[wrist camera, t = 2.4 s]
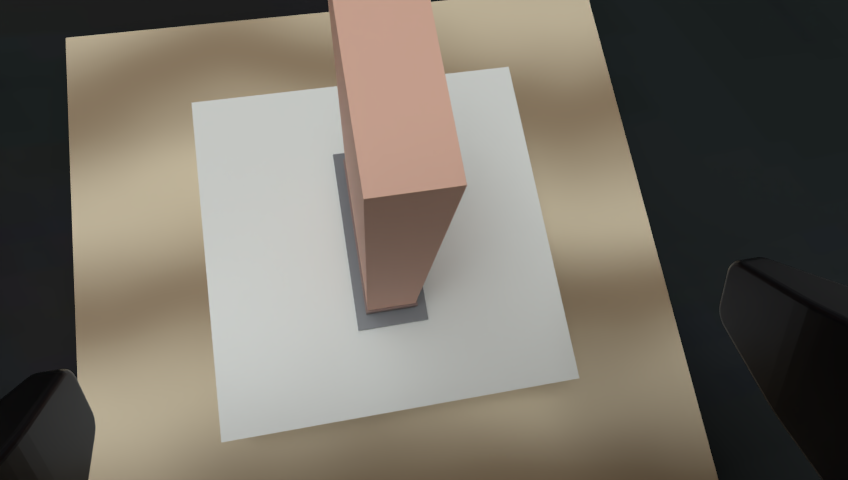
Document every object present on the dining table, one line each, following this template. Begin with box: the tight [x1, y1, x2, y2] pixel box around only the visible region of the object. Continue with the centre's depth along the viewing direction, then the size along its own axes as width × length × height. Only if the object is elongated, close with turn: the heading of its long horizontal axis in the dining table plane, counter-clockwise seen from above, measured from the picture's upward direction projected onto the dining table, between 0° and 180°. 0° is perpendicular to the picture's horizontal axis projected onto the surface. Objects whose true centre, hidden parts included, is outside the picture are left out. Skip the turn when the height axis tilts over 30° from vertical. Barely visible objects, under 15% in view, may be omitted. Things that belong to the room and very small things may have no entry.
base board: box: [66, 0, 718, 480], centre depth 19 cm, size 20×18×1 cm
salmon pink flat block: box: [328, 0, 467, 314], centre depth 12 cm, size 4×1×9 cm, turn 10°
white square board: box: [192, 67, 579, 443], centre depth 18 cm, size 9×9×3 cm
